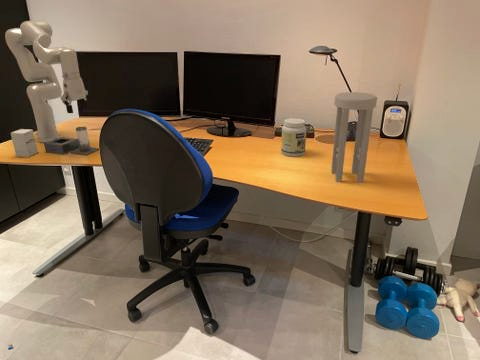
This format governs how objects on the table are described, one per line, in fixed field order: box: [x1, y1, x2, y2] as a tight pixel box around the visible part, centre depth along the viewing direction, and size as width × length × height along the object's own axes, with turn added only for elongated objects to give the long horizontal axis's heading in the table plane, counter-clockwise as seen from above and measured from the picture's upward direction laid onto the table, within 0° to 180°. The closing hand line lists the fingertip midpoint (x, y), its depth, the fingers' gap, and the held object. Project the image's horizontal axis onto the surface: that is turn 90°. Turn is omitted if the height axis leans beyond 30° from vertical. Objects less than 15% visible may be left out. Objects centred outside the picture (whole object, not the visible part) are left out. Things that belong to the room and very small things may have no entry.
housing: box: [43, 136, 80, 156], centre depth 198 cm, size 12×12×5 cm
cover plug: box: [75, 126, 91, 152], centre depth 194 cm, size 5×5×12 cm
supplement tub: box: [280, 117, 307, 158], centre depth 187 cm, size 12×12×17 cm
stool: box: [330, 91, 378, 183], centre depth 155 cm, size 16×16×35 cm
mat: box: [70, 146, 100, 157], centre depth 196 cm, size 10×10×1 cm
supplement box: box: [10, 128, 39, 158], centre depth 190 cm, size 7×7×13 cm
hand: (77, 110), depth 188 cm, fingers open, 9 cm apart
